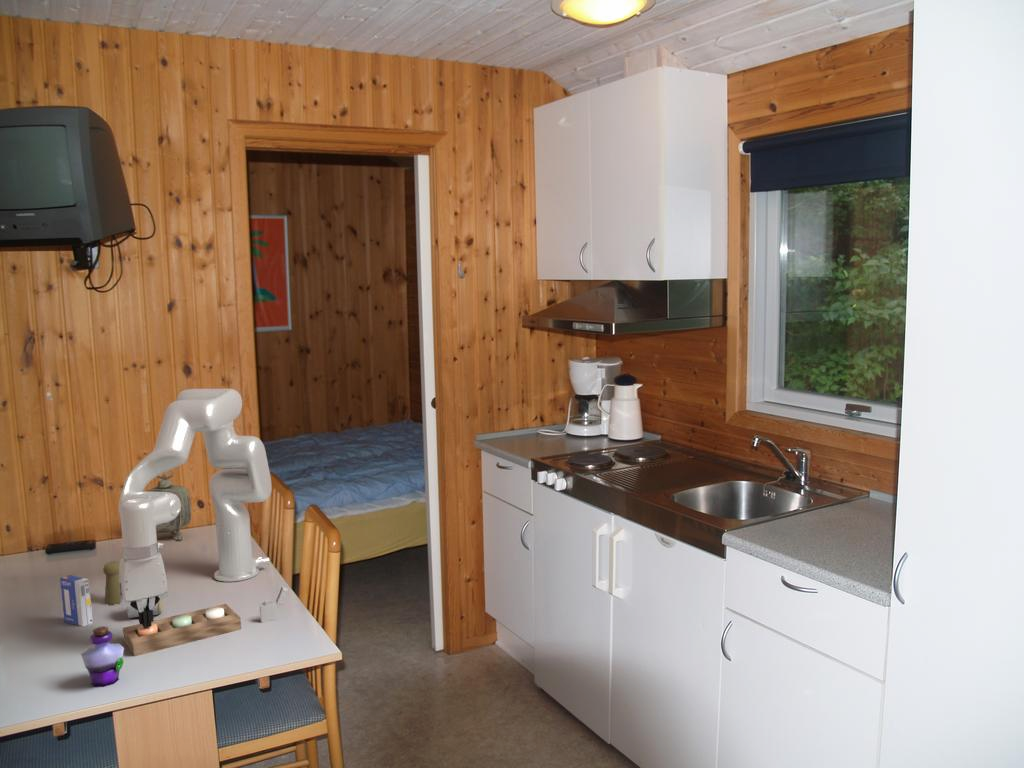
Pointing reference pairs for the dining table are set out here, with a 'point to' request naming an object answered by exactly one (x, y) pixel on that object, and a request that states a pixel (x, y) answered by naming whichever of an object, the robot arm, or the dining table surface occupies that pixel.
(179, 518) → the tabletop clock
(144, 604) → the ceramic mug
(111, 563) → the cork
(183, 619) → the sage button
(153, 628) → the terracotta button
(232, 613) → the button deck
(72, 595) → the walkman
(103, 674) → the potion bottle
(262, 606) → the lighter
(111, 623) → the dining table surface
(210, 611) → the cream button
